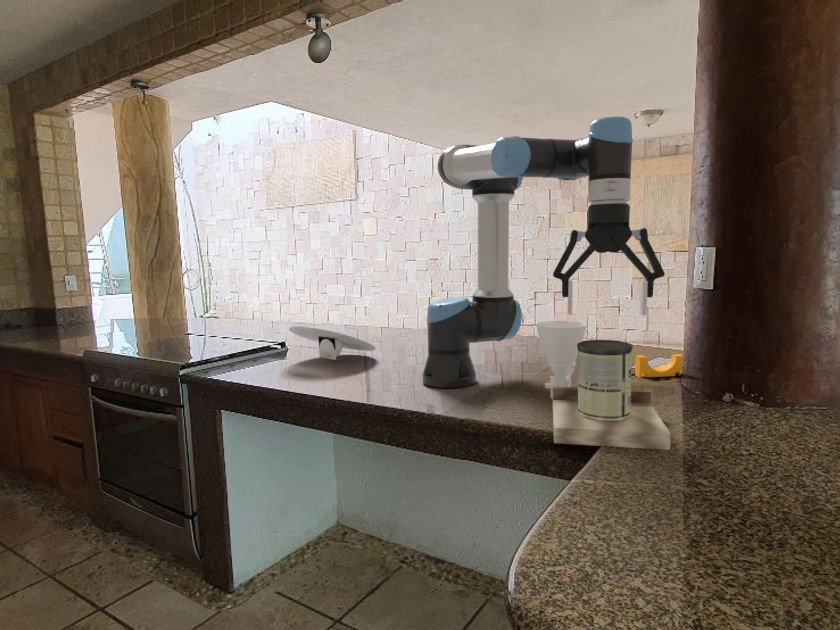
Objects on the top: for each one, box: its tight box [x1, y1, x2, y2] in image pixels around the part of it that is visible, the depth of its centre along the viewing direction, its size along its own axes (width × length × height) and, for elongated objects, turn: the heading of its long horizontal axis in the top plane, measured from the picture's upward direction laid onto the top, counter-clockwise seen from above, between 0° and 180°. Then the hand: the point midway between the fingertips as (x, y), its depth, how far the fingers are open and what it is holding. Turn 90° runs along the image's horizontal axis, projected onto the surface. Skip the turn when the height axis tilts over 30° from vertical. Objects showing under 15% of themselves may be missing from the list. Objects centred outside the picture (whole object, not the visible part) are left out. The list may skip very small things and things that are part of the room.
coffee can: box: [577, 339, 634, 421], centre depth 104 cm, size 10×10×14 cm
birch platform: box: [552, 386, 672, 451], centre depth 105 cm, size 20×20×6 cm
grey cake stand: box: [288, 326, 377, 361], centre depth 182 cm, size 28×19×27 cm
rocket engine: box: [536, 320, 587, 400], centre depth 126 cm, size 12×12×18 cm
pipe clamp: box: [634, 353, 684, 379], centre depth 144 cm, size 12×4×6 cm, turn 91°
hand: (605, 314), depth 102 cm, fingers open, 13 cm apart
